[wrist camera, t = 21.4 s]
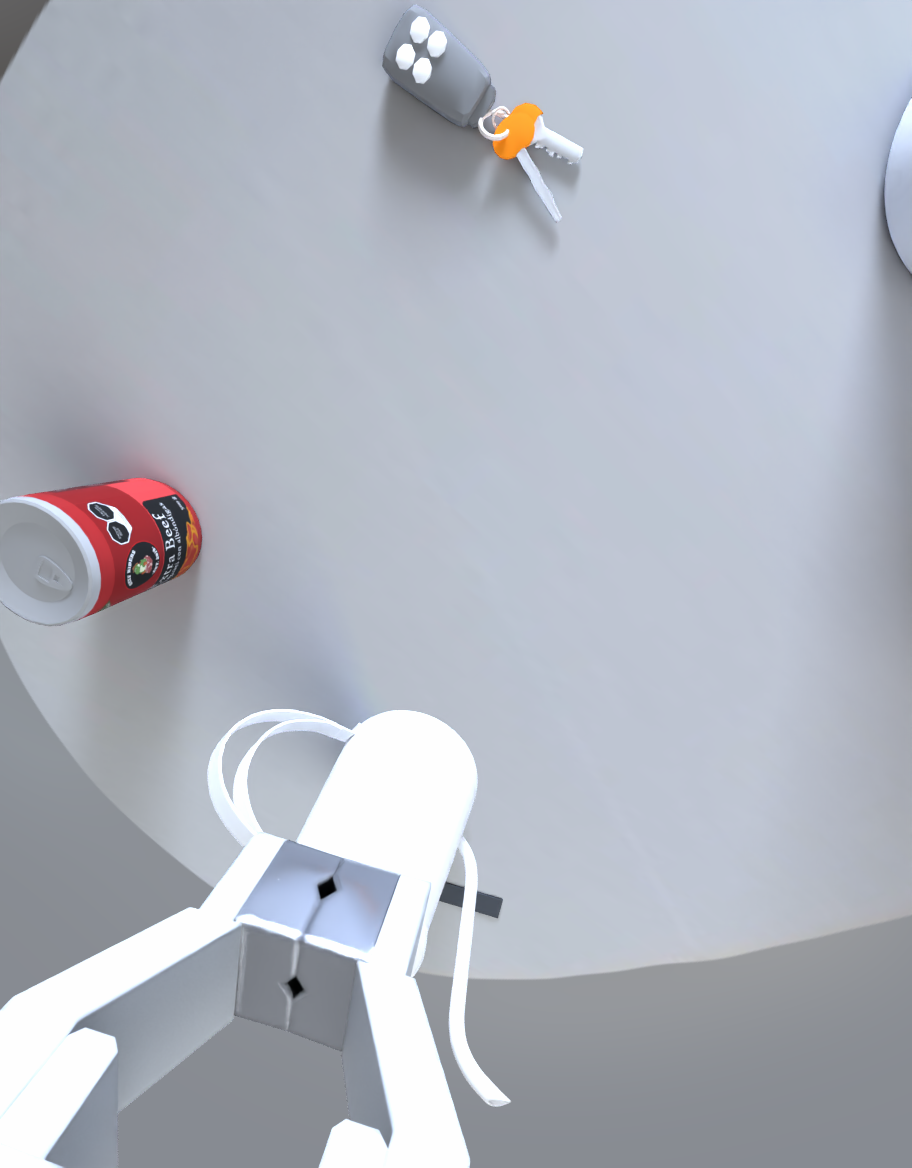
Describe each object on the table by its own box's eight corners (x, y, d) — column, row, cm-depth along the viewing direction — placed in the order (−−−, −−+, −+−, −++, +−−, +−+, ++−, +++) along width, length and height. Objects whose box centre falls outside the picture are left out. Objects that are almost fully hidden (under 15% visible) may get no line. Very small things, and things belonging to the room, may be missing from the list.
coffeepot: (481, 905, 48) (433, 1191, 31) (261, 704, 47) (75, 885, 29) (577, 839, 45) (585, 1119, 27) (343, 618, 43) (187, 764, 25)
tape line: (502, 899, 48) (502, 900, 48) (497, 917, 49) (497, 918, 48) (300, 839, 50) (299, 840, 50) (298, 857, 51) (297, 858, 50)
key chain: (380, 79, 33) (372, 64, 31) (417, 9, 31) (410, -10, 30) (557, 225, 33) (557, 217, 32) (601, 162, 32) (603, 151, 31)
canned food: (199, 589, 45) (88, 644, 34) (107, 558, 45) (-29, 602, 35) (212, 494, 42) (96, 523, 32) (114, 463, 43) (-31, 480, 32)
